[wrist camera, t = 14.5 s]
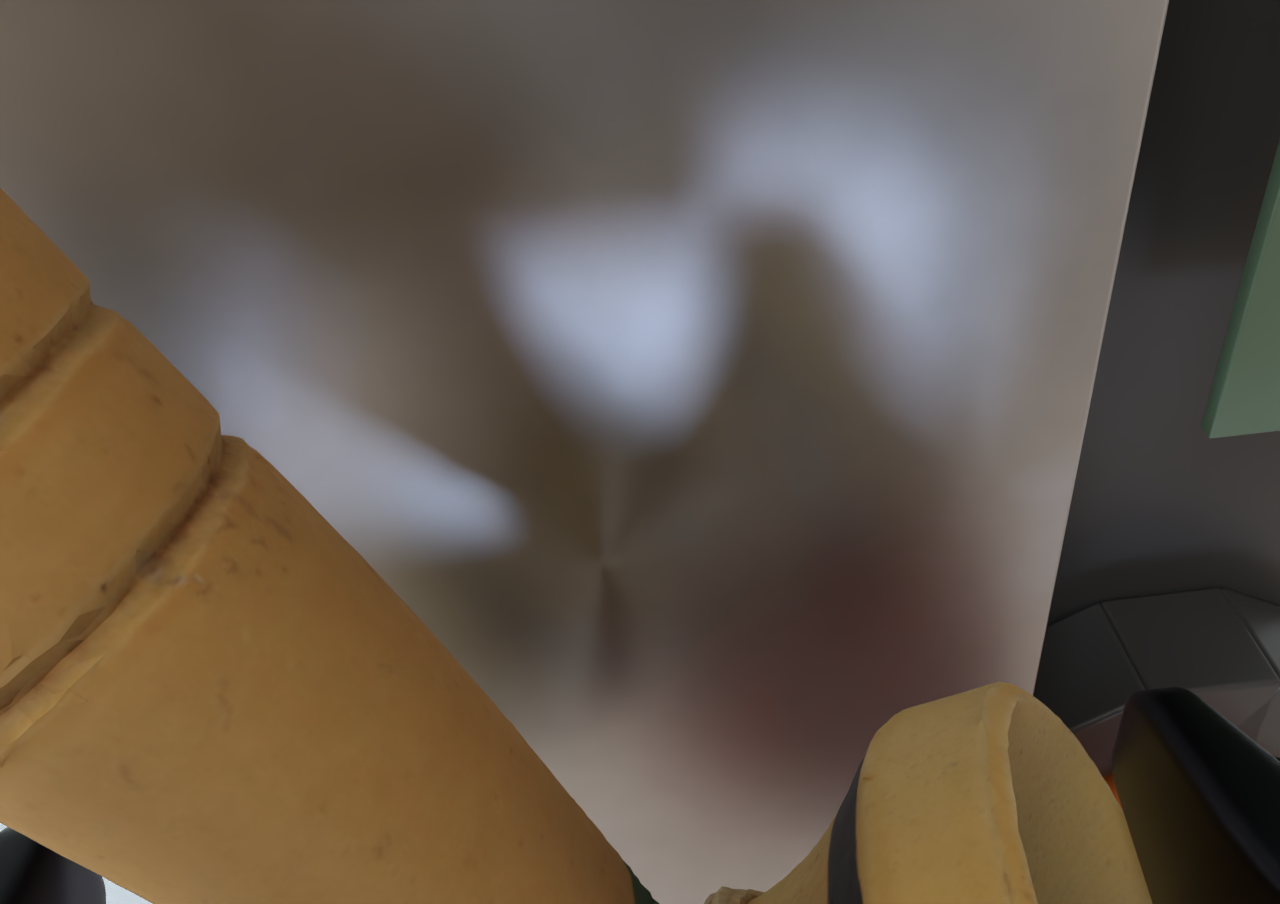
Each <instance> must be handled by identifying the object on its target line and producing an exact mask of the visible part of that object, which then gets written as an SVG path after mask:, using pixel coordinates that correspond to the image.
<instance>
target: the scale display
mask: <svg viewBox="0 0 1280 904" xmlns="http://www.w3.org/2000/svg"><path fill="white" fill-rule="evenodd" d="M1201 427H1202V429H1203V430H1204V432H1205V433H1206V434H1207V436H1208V437H1209V438H1220V437H1229V436H1238V435H1246V434H1255V433H1264V432H1273V431H1280V140H1279V144H1278V147H1277V151H1276V155H1275V158H1274V162H1273V166H1272V169H1271V173H1270V176H1269V180H1268V184H1267V187H1266V191H1265V195H1264V198H1263V202H1262V206H1261V209H1260V213H1259V217H1258V220H1257V224H1256V228H1255V231H1254V235H1253V238H1252V242H1251V246H1250V249H1249V253H1248V257H1247V260H1246V264H1245V268H1244V271H1243V275H1242V279H1241V282H1240V286H1239V289H1238V293H1237V297H1236V300H1235V304H1234V308H1233V311H1232V315H1231V319H1230V322H1229V326H1228V330H1227V333H1226V337H1225V341H1224V344H1223V348H1222V351H1221V355H1220V359H1219V362H1218V366H1217V370H1216V373H1215V377H1214V381H1213V384H1212V388H1211V392H1210V395H1209V399H1208V402H1207V406H1206V410H1205V413H1204V417H1203V421H1202V424H1201Z"/></svg>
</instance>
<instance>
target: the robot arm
mask: <svg viewBox="0 0 1280 904" xmlns="http://www.w3.org/2000/svg"><path fill="white" fill-rule="evenodd" d="M1111 767H1112V775H1113V780H1114V784H1115V788H1116V791H1117V794H1118V797H1119V800H1120V803H1121V806H1122V810H1123V813H1124V816H1125V819H1126V822H1127V825H1128V828H1129V832H1130V835H1131V838H1132V841H1133V844H1134V847H1135V850H1136V853H1137V857H1138V860H1139V863H1140V866H1141V869H1142V872H1143V875H1144V879H1145V882H1146V885H1147V888H1148V891H1149V894H1150V897H1151V900H1152V904H1280V761H1279V760H1277V759H1276V758H1275V757H1274V756H1272V755H1271V754H1270V753H1269V752H1267V751H1266V750H1265V749H1264V748H1262V747H1261V746H1260V745H1259V744H1257V743H1256V742H1255V741H1254V740H1252V739H1251V738H1250V737H1249V736H1247V735H1246V734H1245V733H1244V732H1242V731H1241V730H1240V729H1238V728H1237V727H1236V726H1235V725H1233V724H1232V723H1231V722H1230V721H1228V720H1227V719H1226V718H1225V717H1223V716H1222V715H1221V714H1220V713H1218V712H1217V711H1216V710H1215V709H1213V708H1212V707H1211V706H1210V705H1208V704H1207V703H1206V702H1205V701H1203V700H1202V699H1201V698H1200V697H1198V696H1197V695H1196V694H1194V693H1193V692H1191V691H1189V690H1187V689H1185V688H1182V687H1166V688H1158V689H1150V690H1141V691H1136V692H1134V693H1133V694H1132V695H1131V696H1130V697H1128V699H1127V701H1126V704H1125V707H1124V711H1123V714H1122V718H1121V722H1120V725H1119V729H1118V733H1117V736H1116V740H1115V744H1114V747H1113V751H1112V757H1111ZM0 904H106V892H105V885H104V882H103V879H102V876H101V875H99V874H97V873H95V872H93V871H91V870H89V869H87V868H85V867H83V866H81V865H79V864H77V863H75V862H73V861H71V860H69V859H67V858H65V857H63V856H61V855H60V854H58V853H56V852H54V851H52V850H50V849H49V848H47V847H45V846H43V845H41V844H39V843H38V842H36V841H34V840H32V839H30V838H29V837H27V836H25V835H23V834H21V833H19V832H17V831H15V830H13V829H11V828H9V827H7V828H6V829H4V830H3V831H1V832H0Z"/></svg>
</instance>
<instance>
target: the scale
mask: <svg viewBox="0 0 1280 904" xmlns="http://www.w3.org/2000/svg"><path fill="white" fill-rule="evenodd" d="M1279 140H1280V0H1169V4H1168V9H1167V14H1166V19H1165V24H1164V29H1163V34H1162V40H1161V45H1160V50H1159V55H1158V60H1157V65H1156V70H1155V75H1154V80H1153V86H1152V91H1151V96H1150V101H1149V106H1148V111H1147V116H1146V121H1145V126H1144V132H1143V137H1142V142H1141V147H1140V152H1139V157H1138V162H1137V167H1136V172H1135V177H1134V183H1133V188H1132V193H1131V198H1130V203H1129V208H1128V213H1127V218H1126V223H1125V229H1124V234H1123V239H1122V244H1121V249H1120V254H1119V259H1118V264H1117V269H1116V275H1115V280H1114V285H1113V290H1112V295H1111V300H1110V305H1109V310H1108V315H1107V321H1106V326H1105V331H1104V336H1103V341H1102V346H1101V351H1100V356H1099V361H1098V367H1097V372H1096V377H1095V382H1094V387H1093V392H1092V397H1091V402H1090V407H1089V412H1088V418H1087V423H1086V428H1085V433H1084V438H1083V443H1082V448H1081V453H1080V458H1079V464H1078V469H1077V474H1076V479H1075V484H1074V489H1073V494H1072V499H1071V504H1070V510H1069V515H1068V520H1067V525H1066V530H1065V535H1064V540H1063V545H1062V550H1061V556H1060V561H1059V566H1058V571H1057V576H1056V581H1055V586H1054V591H1053V596H1052V601H1051V607H1050V612H1049V617H1048V622H1047V627H1046V632H1045V637H1044V642H1043V647H1042V653H1041V658H1040V663H1039V668H1038V673H1037V678H1036V683H1035V688H1034V693H1033V696H1034V697H1035V698H1036V699H1038V700H1039V701H1041V702H1042V703H1043V704H1044V705H1046V706H1047V707H1048V708H1049V709H1050V710H1051V711H1052V712H1053V713H1054V714H1055V715H1057V716H1058V717H1059V718H1060V719H1061V720H1062V722H1063V723H1064V724H1065V725H1066V726H1067V727H1068V728H1069V729H1070V731H1071V732H1072V733H1073V734H1074V735H1075V737H1076V738H1077V739H1078V740H1079V742H1080V743H1081V745H1082V746H1083V748H1084V749H1085V751H1086V753H1087V754H1088V756H1089V757H1090V758H1091V759H1092V761H1093V762H1094V763H1095V765H1096V767H1097V768H1098V770H1099V772H1100V774H1101V775H1102V777H1105V776H1107V775H1110V774H1112V767H1111V757H1112V751H1113V747H1114V744H1115V740H1116V736H1117V733H1118V729H1119V725H1120V722H1121V718H1122V714H1123V711H1124V707H1125V704H1126V701H1127V699H1128V697H1130V696H1131V695H1132V694H1133V693H1134V692H1136V691H1141V690H1150V689H1158V688H1166V687H1182V688H1185V689H1187V690H1189V691H1191V692H1193V693H1194V694H1196V695H1197V696H1198V697H1200V698H1201V699H1202V700H1203V701H1205V702H1206V703H1207V704H1208V705H1210V706H1211V707H1212V708H1213V709H1215V710H1216V711H1217V712H1218V713H1220V714H1221V715H1222V716H1223V717H1225V718H1226V719H1227V720H1228V721H1230V722H1231V723H1232V724H1233V725H1235V726H1236V727H1237V728H1238V729H1240V730H1241V731H1242V732H1244V733H1245V734H1246V735H1247V736H1249V737H1250V738H1251V739H1252V740H1254V741H1255V742H1256V743H1257V744H1259V745H1260V746H1261V747H1262V748H1264V749H1265V750H1266V751H1267V752H1269V753H1270V754H1271V755H1272V756H1274V757H1275V758H1276V759H1277V760H1279V761H1280V431H1273V432H1264V433H1255V434H1246V435H1238V436H1229V437H1220V438H1209V437H1208V436H1207V434H1206V433H1205V432H1204V430H1203V429H1202V427H1201V424H1202V421H1203V417H1204V413H1205V410H1206V406H1207V402H1208V399H1209V395H1210V392H1211V388H1212V384H1213V381H1214V377H1215V373H1216V370H1217V366H1218V362H1219V359H1220V355H1221V351H1222V348H1223V344H1224V341H1225V337H1226V333H1227V330H1228V326H1229V322H1230V319H1231V315H1232V311H1233V308H1234V304H1235V300H1236V297H1237V293H1238V289H1239V286H1240V282H1241V279H1242V275H1243V271H1244V268H1245V264H1246V260H1247V257H1248V253H1249V249H1250V246H1251V242H1252V238H1253V235H1254V231H1255V228H1256V224H1257V220H1258V217H1259V213H1260V209H1261V206H1262V202H1263V198H1264V195H1265V191H1266V187H1267V184H1268V180H1269V176H1270V173H1271V169H1272V166H1273V162H1274V158H1275V155H1276V151H1277V147H1278V144H1279Z"/></svg>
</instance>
